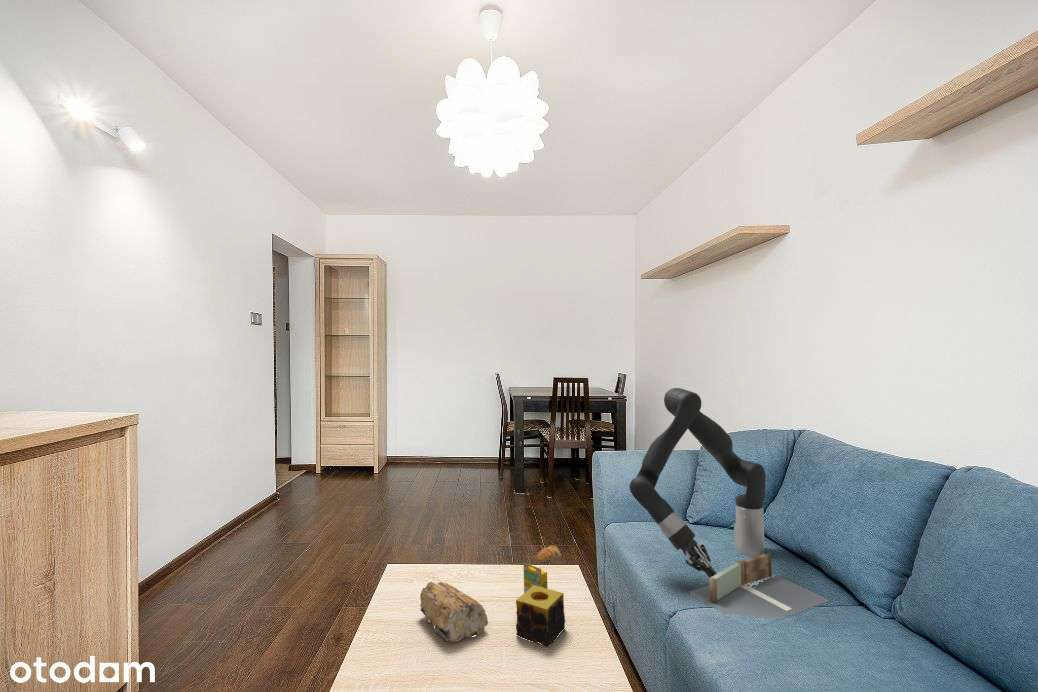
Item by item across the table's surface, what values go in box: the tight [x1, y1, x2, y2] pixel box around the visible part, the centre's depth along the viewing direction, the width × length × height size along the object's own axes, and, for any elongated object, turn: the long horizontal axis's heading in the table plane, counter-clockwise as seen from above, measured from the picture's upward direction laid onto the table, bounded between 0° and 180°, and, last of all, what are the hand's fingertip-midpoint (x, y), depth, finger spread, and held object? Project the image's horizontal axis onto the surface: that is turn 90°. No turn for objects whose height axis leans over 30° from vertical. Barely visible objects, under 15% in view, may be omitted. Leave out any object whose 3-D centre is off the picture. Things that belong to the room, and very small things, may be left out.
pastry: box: [535, 545, 562, 564], centre depth 182 cm, size 9×7×4 cm
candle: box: [515, 585, 566, 648], centre depth 136 cm, size 10×10×10 cm
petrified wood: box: [419, 581, 489, 642], centre depth 141 cm, size 19×13×10 cm
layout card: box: [688, 574, 831, 621], centre depth 151 cm, size 23×33×1 cm
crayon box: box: [523, 562, 549, 594], centre depth 152 cm, size 7×3×12 cm, turn 47°
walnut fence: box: [741, 552, 773, 584], centre depth 162 cm, size 12×2×7 cm, turn 115°
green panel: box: [708, 560, 745, 602], centre depth 154 cm, size 18×2×7 cm, turn 129°
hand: (716, 579), depth 152 cm, fingers closed
